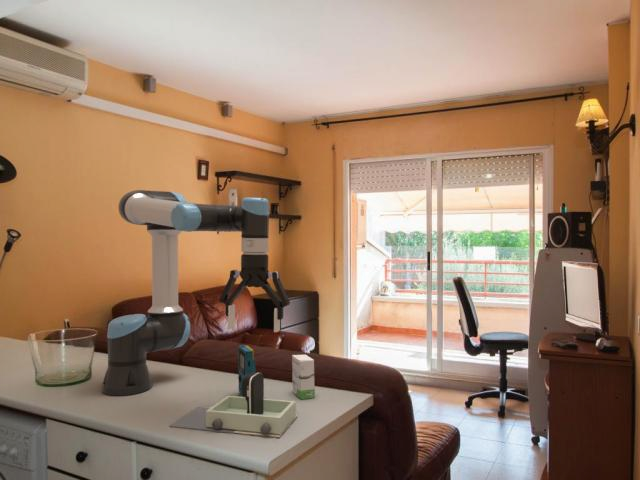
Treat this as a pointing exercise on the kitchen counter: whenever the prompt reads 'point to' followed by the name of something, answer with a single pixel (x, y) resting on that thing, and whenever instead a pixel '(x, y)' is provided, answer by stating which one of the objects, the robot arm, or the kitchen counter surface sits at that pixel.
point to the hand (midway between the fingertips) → (253, 329)
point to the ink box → (303, 376)
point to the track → (198, 422)
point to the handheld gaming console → (245, 363)
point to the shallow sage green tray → (251, 415)
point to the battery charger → (253, 392)
